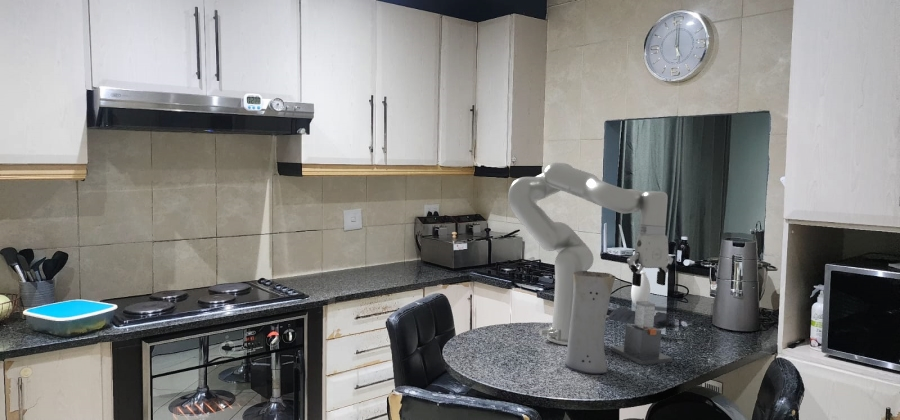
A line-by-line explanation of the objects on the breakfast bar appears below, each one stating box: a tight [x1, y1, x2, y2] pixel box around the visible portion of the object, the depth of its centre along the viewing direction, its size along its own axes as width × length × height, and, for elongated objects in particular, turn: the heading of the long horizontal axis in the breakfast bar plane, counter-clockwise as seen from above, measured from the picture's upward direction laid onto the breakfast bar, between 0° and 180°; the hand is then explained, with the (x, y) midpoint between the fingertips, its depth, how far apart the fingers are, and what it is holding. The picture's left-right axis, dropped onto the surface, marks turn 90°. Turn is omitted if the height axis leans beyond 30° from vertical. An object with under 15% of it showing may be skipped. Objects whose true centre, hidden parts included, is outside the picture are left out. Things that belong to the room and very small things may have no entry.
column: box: [634, 300, 656, 331], centre depth 191 cm, size 4×4×16 cm
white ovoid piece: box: [630, 268, 651, 306], centre depth 261 cm, size 8×8×18 cm
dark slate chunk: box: [608, 307, 670, 330], centre depth 238 cm, size 15×22×5 cm
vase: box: [564, 270, 616, 375], centre depth 177 cm, size 13×14×28 cm
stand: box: [611, 324, 673, 366], centre depth 192 cm, size 12×14×10 cm
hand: (648, 285), depth 190 cm, fingers open, 9 cm apart
